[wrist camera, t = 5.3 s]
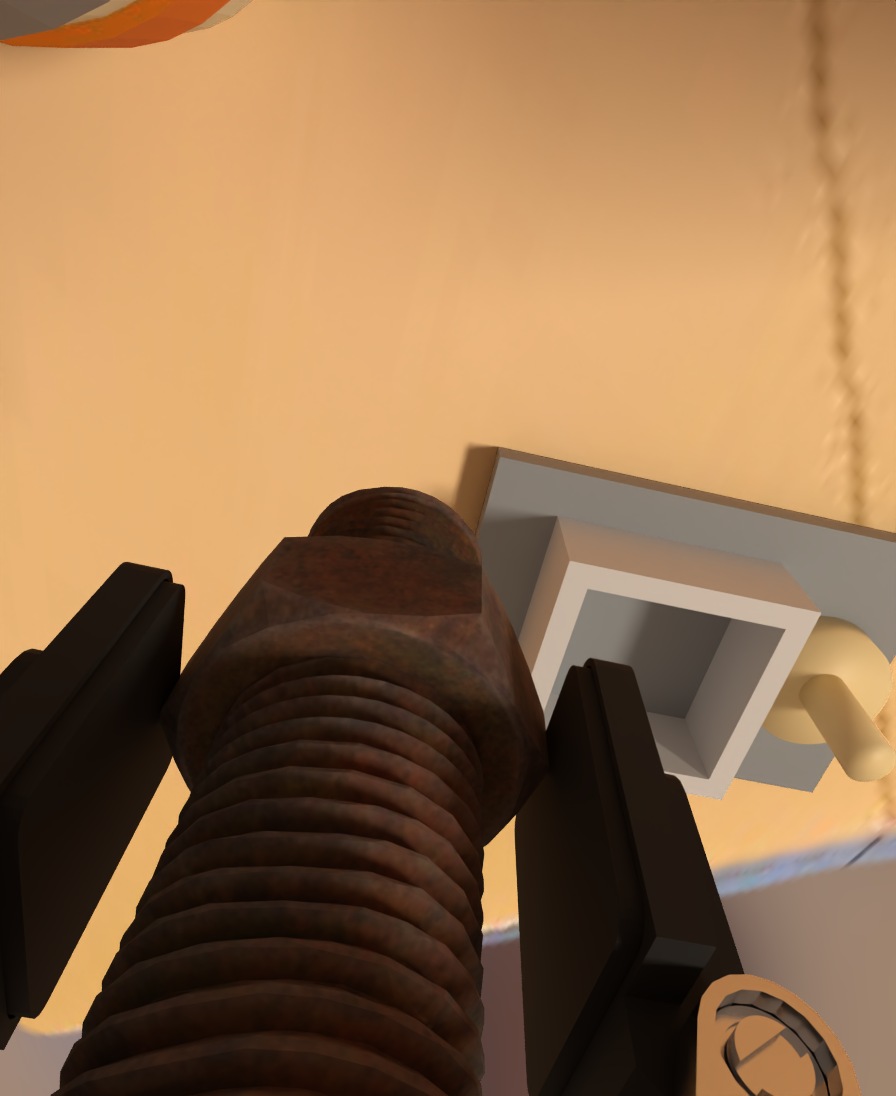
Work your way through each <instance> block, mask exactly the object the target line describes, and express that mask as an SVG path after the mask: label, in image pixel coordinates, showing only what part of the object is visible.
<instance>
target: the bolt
mask: <svg viewBox="0 0 896 1096" xmlns="http://www.w3.org/2000/svg"><path fill="white" fill-rule="evenodd" d="M482 565H483V560H482V553H481V548H480V546H479V544H478V542H477V539H476V537H475V535H474V533H473V532H472V531H471V530H470V528H469V527H468V526H467V525H466V524H465V522H464V521H463V520H462V519H461V518H460V516H459V515H458V514H457V513H455V512H454V511H453V510H452V509H451V508H450V507H449V506H447V505H446V504H444V503H443V502H441V501H439V500H438V499H436V498H434V497H433V496H430V495H428V494H425V493H422V492H420V491H417V490H412V489H407V488H402V487H380V488H371V489H362V490H357V491H355V492H352V493H349V494H346V495H344V496H342V497H340V498H339V499H337V500H336V501H334V502H333V503H331V504H330V505H329V506H328V507H327V508H326V509H325V510H324V511H323V512H322V513H321V514H320V515H319V517H318V519H317V520H316V522H315V523H314V525H313V526H312V528H311V530H310V533H309V535H308V537H284V539H283V540H282V541H281V542H280V543H279V544H278V545H277V547H276V548H275V549H274V550H273V551H272V552H271V553H270V555H269V556H268V557H267V558H266V559H265V560H264V561H263V563H262V564H261V565H260V566H259V568H258V569H257V570H256V571H255V573H254V574H253V575H252V577H251V578H250V579H249V580H248V582H247V583H246V584H245V585H244V587H243V588H242V589H241V590H240V592H239V593H238V594H237V596H236V597H235V598H234V600H233V601H232V602H231V604H230V605H229V606H228V608H227V609H226V610H225V612H224V613H223V614H222V616H221V617H220V618H219V619H218V621H217V622H216V624H215V625H214V626H213V628H212V629H211V631H210V632H209V633H208V635H207V636H206V638H205V639H204V640H203V642H202V643H201V645H200V646H199V647H198V649H197V650H196V652H195V653H194V655H193V656H192V657H191V659H190V660H189V662H188V663H187V665H186V666H185V668H184V670H183V672H182V673H181V675H180V678H179V680H178V681H177V683H176V685H175V686H174V688H173V690H172V692H171V693H170V695H169V697H168V698H167V700H166V702H165V703H164V705H163V707H162V709H161V710H160V723H161V726H162V728H163V731H164V734H165V736H166V739H167V742H168V744H169V747H170V750H171V752H172V755H173V758H174V760H175V763H176V765H177V767H178V769H179V771H180V773H181V775H182V777H183V779H184V781H185V783H186V785H187V787H188V788H189V790H190V792H191V794H190V796H189V798H188V800H187V802H186V804H185V805H184V807H183V809H182V810H181V812H180V815H179V820H178V825H177V826H176V828H175V829H174V831H173V832H172V834H171V835H170V836H169V838H168V840H167V842H166V845H165V849H164V851H163V853H162V855H161V857H160V859H159V862H158V864H157V867H156V869H155V872H154V874H153V877H152V879H151V880H150V881H149V883H148V885H147V887H146V889H145V891H144V893H143V895H142V897H141V899H140V901H139V903H138V905H137V907H136V916H135V919H134V921H133V922H132V924H131V925H130V926H129V928H128V929H127V930H126V932H125V933H124V935H123V937H122V939H121V942H120V950H119V951H118V952H117V953H116V955H115V957H114V959H113V961H112V963H111V965H110V967H109V969H108V971H107V973H106V975H105V976H104V978H103V980H102V992H100V993H99V994H98V995H97V996H96V997H95V999H94V1001H93V1004H92V1006H91V1008H90V1010H89V1012H88V1014H87V1016H86V1018H85V1020H84V1022H83V1027H82V1038H81V1039H79V1040H78V1041H77V1042H76V1043H74V1045H73V1047H72V1049H71V1051H70V1053H69V1055H68V1057H67V1059H66V1061H65V1063H64V1065H63V1067H62V1069H61V1071H60V1089H59V1090H57V1091H56V1092H54V1093H53V1094H51V1096H482V1088H481V1083H480V1081H481V1079H482V1077H483V1075H484V1073H485V1065H484V1053H483V1048H482V1044H481V1036H482V1031H483V1025H484V1006H483V1004H482V1001H481V999H480V997H481V989H482V979H483V967H482V965H481V951H482V940H483V934H482V931H481V929H482V925H483V910H482V905H481V898H482V895H483V892H484V879H483V874H482V868H483V860H484V849H483V847H484V846H486V845H487V844H488V843H489V842H490V841H491V840H492V839H493V838H494V837H495V836H496V835H497V834H498V833H499V832H500V831H501V830H502V829H503V828H504V827H505V826H506V825H507V824H508V823H509V822H510V820H511V819H512V818H513V817H514V816H515V815H516V814H517V813H518V812H519V811H520V810H521V808H522V807H523V806H524V804H525V803H526V802H527V800H528V799H529V798H530V796H531V795H532V793H533V792H534V791H535V789H536V788H537V787H538V785H539V784H540V783H541V781H542V780H543V779H544V777H545V776H546V774H547V773H548V771H549V769H550V766H549V757H548V748H547V740H546V726H545V718H544V712H543V709H542V706H541V703H540V700H539V697H538V694H537V691H536V688H535V685H534V682H533V679H532V676H531V673H530V670H529V667H528V664H527V662H526V659H525V657H524V654H523V652H522V649H521V647H520V644H519V641H518V639H517V636H516V634H515V631H514V629H513V627H512V625H511V622H510V620H509V618H508V616H507V614H506V611H505V609H504V607H503V605H502V603H501V600H500V598H499V596H498V594H497V593H496V591H495V589H494V587H493V585H492V584H491V582H490V580H489V578H488V576H487V575H486V573H485V571H484V569H483V567H482Z"/></svg>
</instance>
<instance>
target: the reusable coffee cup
mask: <svg viewBox="0 0 896 1096" xmlns="http://www.w3.org/2000/svg"><path fill="white" fill-rule="evenodd" d="M251 1H252V0H0V42H1V43H5V44H8V45H12V46H32V47H57V48H132V47H137V46H142V45H147V44H152V43H157V42H162V41H167V40H170V39H172V38H174V37H176V36H178V35H180V34H182V33H186V32H191V31H196V30H200V29H205V28H210V27H212V26H214V25H216V24H218V23H220V22H222V21H224V20H226V19H228V18H231V17H233V16H234V15H235V14H236V13H238V12H239V11H240V10H241V9H242V8H244V7H245V6H246V5H247V4H248V3H250V2H251Z"/></svg>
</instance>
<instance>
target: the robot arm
mask: <svg viewBox="0 0 896 1096" xmlns="http://www.w3.org/2000/svg"><path fill="white" fill-rule="evenodd" d="M184 608H185V587H184V586H183V585H181V584H176V583H173V578H172V573H171V572H170V571H169V570H164V569H159V568H154V567H149V566H145V565H140V564H135V563H130V562H123V563H122V564H121V565H120V566H119V567H118V568H117V569H116V570H115V571H114V572H113V573H112V575H111V576H110V577H109V578H108V579H107V580H106V581H105V582H104V584H103V585H102V586H101V587H100V588H99V589H98V590H97V591H96V592H95V594H94V595H93V596H92V597H91V598H90V599H89V600H88V601H87V603H86V604H85V605H84V606H83V607H82V608H81V609H80V610H79V612H78V613H77V614H76V615H75V616H74V617H73V618H72V619H71V620H70V622H69V623H68V624H67V625H66V626H65V627H64V628H63V629H62V631H61V632H60V633H59V634H58V635H57V636H56V637H55V638H54V640H53V641H52V642H51V643H50V644H49V645H48V646H47V647H46V648H45V650H44V651H41V650H36V649H30V650H27V651H24V652H23V653H21V654H20V655H19V656H18V657H17V658H15V659H14V660H13V661H12V662H11V663H10V665H9V666H8V667H7V668H6V669H5V670H4V671H3V672H2V673H1V674H0V1050H4V1049H5V1047H6V1045H7V1043H8V1041H9V1039H10V1037H11V1035H12V1034H13V1032H14V1030H15V1028H16V1026H17V1024H18V1023H19V1021H20V1019H21V1017H27V1018H33V1019H35V1018H36V1017H37V1016H38V1015H39V1014H40V1013H41V1011H42V1010H43V1009H44V1007H45V1005H46V1003H47V1002H48V1000H49V998H50V996H51V994H52V992H53V990H54V988H55V986H56V984H57V982H58V980H59V978H60V977H61V975H62V973H63V971H64V969H65V967H66V965H67V963H68V961H69V959H70V957H71V955H72V953H73V951H74V949H75V947H76V945H77V943H78V942H79V940H80V938H81V936H82V934H83V932H84V930H85V928H86V926H87V924H88V922H89V920H90V918H91V916H92V914H93V912H94V910H95V909H96V907H97V905H98V903H99V901H100V899H101V897H102V895H103V893H104V891H105V889H106V887H107V885H108V883H109V881H110V879H111V877H112V876H113V874H114V872H115V870H116V868H117V866H118V864H119V862H120V860H121V858H122V856H123V854H124V852H125V850H126V848H127V846H128V844H129V843H130V841H131V839H132V837H133V835H134V833H135V831H136V829H137V827H138V825H139V823H140V821H141V819H142V817H143V815H144V813H145V811H146V809H147V808H148V806H149V804H150V802H151V800H152V798H153V796H154V794H155V792H156V790H157V788H158V786H159V784H160V782H161V780H162V778H163V776H164V775H165V773H166V771H167V769H168V766H169V764H170V762H171V759H172V756H173V755H172V752H171V750H170V747H169V744H168V742H167V739H166V736H165V734H164V731H163V728H162V726H161V723H160V710H161V709H162V707H163V705H164V703H165V702H166V700H167V698H168V697H169V695H170V693H171V692H172V690H173V688H174V686H175V685H176V683H177V681H178V680H179V678H180V670H181V655H182V639H183V623H184ZM546 740H547V748H548V757H549V766H550V769H549V771H548V773H547V774H546V776H545V777H544V779H543V780H542V781H541V783H540V784H539V785H538V787H537V788H536V789H535V791H534V792H533V793H532V795H531V796H530V798H529V799H528V800H527V802H526V803H525V804H524V806H523V807H522V808H521V810H520V811H519V812H518V813H517V814H516V820H515V851H516V871H517V892H518V912H519V932H520V951H521V971H522V992H523V1012H524V1032H525V1051H526V1072H527V1086H528V1093H529V1096H861V1093H860V1088H859V1085H858V1082H857V1078H856V1075H855V1072H854V1069H853V1065H852V1063H851V1061H850V1059H849V1057H848V1056H847V1054H846V1052H845V1050H844V1048H843V1047H842V1045H841V1043H840V1041H839V1040H838V1038H837V1036H836V1035H835V1034H834V1033H833V1032H832V1030H831V1029H830V1028H829V1027H828V1026H827V1024H826V1023H825V1022H824V1021H823V1019H822V1018H821V1017H820V1016H819V1015H818V1013H816V1012H815V1011H814V1010H813V1009H812V1008H810V1007H809V1006H808V1005H807V1004H806V1003H805V1002H803V1001H802V1000H801V999H800V998H799V997H797V996H796V995H795V994H793V993H791V992H790V991H788V990H786V989H784V988H783V987H781V986H779V985H777V984H776V983H774V982H772V981H770V980H766V979H763V978H760V977H756V976H753V975H749V974H746V975H745V974H744V971H743V968H742V965H741V962H740V959H739V956H738V953H737V949H736V946H735V944H734V940H733V937H732V934H731V931H730V928H729V925H728V922H727V919H726V916H725V913H724V910H723V907H722V903H721V900H720V897H719V894H718V891H717V888H716V885H715V882H714V879H713V875H712V872H711V869H710V866H709V863H708V860H707V857H706V854H705V851H704V848H703V845H702V842H701V838H700V835H699V832H698V829H697V826H696V823H695V820H694V817H693V814H692V811H691V808H690V805H689V801H688V798H687V795H686V792H685V790H684V787H683V785H682V783H681V781H680V780H679V779H678V778H677V777H676V776H675V775H670V774H665V773H664V770H663V766H662V763H661V760H660V756H659V753H658V750H657V746H656V743H655V740H654V736H653V733H652V730H651V726H650V723H649V720H648V716H647V713H646V710H645V706H644V703H643V700H642V696H641V693H640V690H639V686H638V683H637V680H636V676H635V673H634V671H633V669H632V667H631V666H629V665H624V664H619V663H615V662H610V661H605V660H600V659H595V658H588V659H587V660H586V662H585V663H584V665H583V667H581V666H576V665H572V666H571V667H570V669H569V670H568V673H567V675H566V678H565V681H564V683H563V686H562V689H561V691H560V694H559V697H558V700H557V702H556V705H555V708H554V710H553V713H552V716H551V719H550V721H549V724H548V727H547V729H546Z"/></svg>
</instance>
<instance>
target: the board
mask: <svg viewBox="0 0 896 1096" xmlns="http://www.w3.org/2000/svg"><path fill="white" fill-rule="evenodd" d="M475 537H476V539H477V542H478V544H479V546H480V548H481V553H482V560H483V565H482V567H483V569H484V571H485V573H486V575H487V576H488V578H489V580H490V582H491V584H492V585H493V587H494V589H495V591H496V593H497V594H498V596H499V598H500V600H501V603H502V605H503V607H504V609H505V611H506V614H507V616H508V618H509V620H510V622H511V625H512V627H513V629H514V631H515V634H516V636H517V639H518V641H519V644H520V647H521V649H522V652H523V654H524V657H525V659H526V662H527V664H528V667H529V670H530V673H531V676H532V679H533V682H534V685H535V688H536V691H537V694H538V697H539V700H540V703H541V706H542V709H543V712H544V718H545V726H546V729H547V727H548V724H549V721H550V719H551V716H552V713H553V710H554V708H555V705H556V702H557V700H558V697H559V694H560V691H561V689H562V686H563V683H564V681H565V678H566V675H567V673H568V670H569V669H570V667H571V666H572V665H576V666H581V667H583V665H584V663H585V662H586V660H587V659H588V658H595V659H600V660H605V661H610V662H615V663H619V664H624V665H629V666H631V667H632V669H633V671H634V673H635V676H636V680H637V683H638V686H639V690H640V693H641V696H642V700H643V703H644V706H645V710H646V713H647V716H648V720H649V723H650V726H651V730H652V733H653V736H654V740H655V743H656V746H657V750H658V753H659V756H660V760H661V763H662V766H663V770H664V773H665V774H670V775H675V776H676V777H677V778H678V779H679V780H680V781H681V783H682V785H683V787H684V790H685V792H686V793H687V794H692V795H698V796H703V797H709V798H714V799H720V800H722V799H723V797H724V795H725V793H726V791H727V789H728V788H729V786H730V784H731V782H732V780H733V778H738V779H743V780H748V781H754V782H759V783H764V784H770V785H775V786H781V787H786V788H791V789H797V790H802V791H808V792H813V791H814V789H815V787H816V786H817V784H818V782H819V781H820V779H821V777H822V776H823V774H824V772H825V771H826V769H827V767H828V766H829V764H830V763H831V761H832V759H833V758H834V756H835V757H836V758H837V760H838V762H839V763H840V765H841V766H842V768H843V769H844V771H845V773H846V774H847V775H848V776H849V777H850V778H851V779H853V780H856V781H860V782H869V781H874V780H877V779H880V778H882V777H884V776H886V775H887V774H888V773H890V772H891V771H892V770H893V768H894V767H895V765H896V752H895V750H894V749H893V747H892V746H891V745H890V743H889V742H888V741H887V739H886V738H885V737H884V735H883V734H882V733H881V731H880V730H879V729H878V727H877V726H876V724H875V723H874V722H873V720H872V719H874V718H875V717H876V715H877V714H878V713H879V712H880V711H881V710H882V708H883V707H884V705H885V704H886V702H887V700H888V698H889V695H890V693H891V689H892V684H893V675H892V669H891V666H890V663H891V662H892V660H893V658H894V657H895V655H896V534H895V533H891V532H886V531H881V530H877V529H872V528H868V527H863V526H858V525H854V524H849V523H845V522H840V521H836V520H831V519H826V518H822V517H817V516H813V515H808V514H803V513H799V512H794V511H790V510H785V509H781V508H776V507H771V506H767V505H762V504H758V503H753V502H748V501H744V500H739V499H735V498H730V497H726V496H721V495H716V494H712V493H707V492H703V491H698V490H693V489H689V488H684V487H680V486H675V485H671V484H666V483H661V482H657V481H652V480H648V479H643V478H638V477H634V476H629V475H625V474H620V473H616V472H611V471H606V470H602V469H597V468H593V467H588V466H583V465H579V464H574V463H570V462H565V461H561V460H556V459H551V458H547V457H542V456H538V455H533V454H528V453H524V452H519V451H515V450H510V449H506V448H501V447H499V449H498V452H497V456H496V460H495V464H494V467H493V471H492V475H491V479H490V482H489V486H488V490H487V494H486V498H485V501H484V505H483V509H482V513H481V516H480V520H479V524H478V528H477V531H476V535H475Z"/></svg>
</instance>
